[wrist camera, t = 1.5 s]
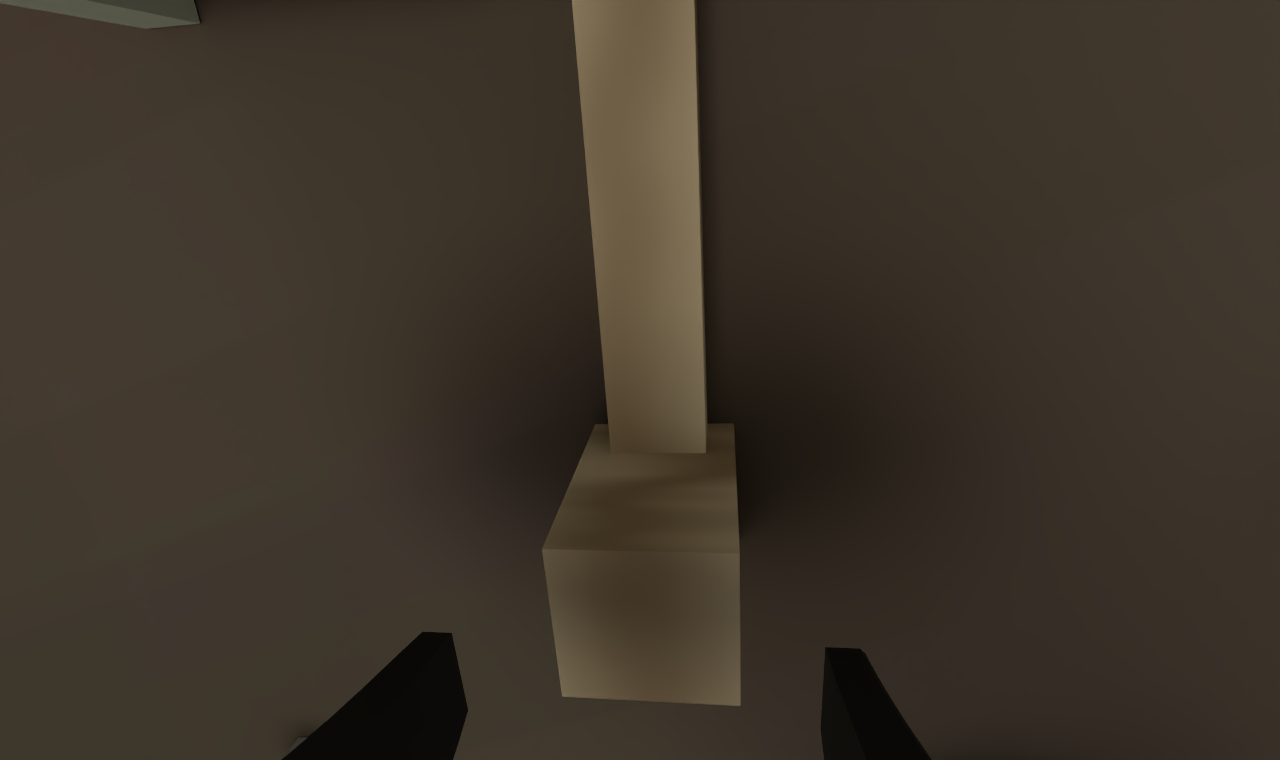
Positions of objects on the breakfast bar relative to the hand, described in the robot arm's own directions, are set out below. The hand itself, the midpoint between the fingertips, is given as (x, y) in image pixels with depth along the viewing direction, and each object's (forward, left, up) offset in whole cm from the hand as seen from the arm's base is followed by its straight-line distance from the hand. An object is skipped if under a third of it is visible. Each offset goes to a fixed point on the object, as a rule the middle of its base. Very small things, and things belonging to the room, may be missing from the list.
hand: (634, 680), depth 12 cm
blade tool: (0, -6, -7) cm, 9 cm away
